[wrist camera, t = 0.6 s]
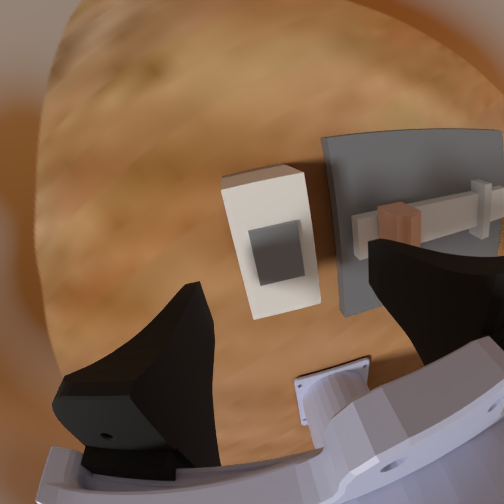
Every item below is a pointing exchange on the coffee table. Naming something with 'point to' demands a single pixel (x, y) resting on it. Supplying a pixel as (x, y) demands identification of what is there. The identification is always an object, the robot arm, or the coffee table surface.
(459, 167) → the rail board
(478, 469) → the robot arm
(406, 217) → the rail clip
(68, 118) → the coffee table surface
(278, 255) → the block
